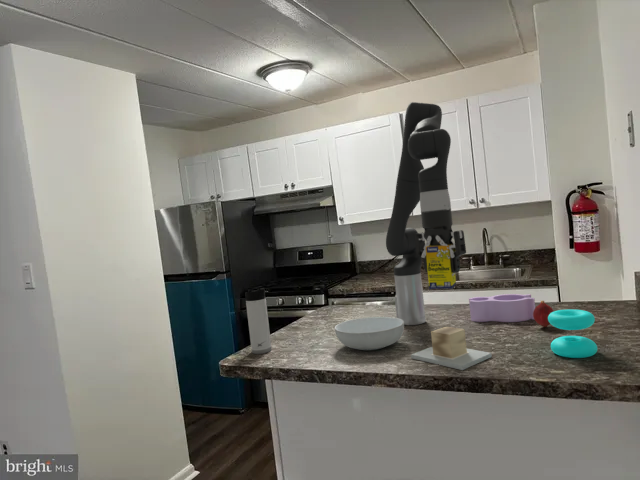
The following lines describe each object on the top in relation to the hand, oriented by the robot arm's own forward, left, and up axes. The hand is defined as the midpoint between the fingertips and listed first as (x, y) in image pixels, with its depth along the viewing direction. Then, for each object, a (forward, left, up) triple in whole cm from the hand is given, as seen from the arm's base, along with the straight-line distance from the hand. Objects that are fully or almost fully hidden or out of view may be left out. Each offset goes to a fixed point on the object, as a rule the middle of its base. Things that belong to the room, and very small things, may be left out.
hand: (442, 272), depth 116 cm
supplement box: (0, 0, -4) cm, 4 cm away
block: (0, 0, -21) cm, 21 cm away
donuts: (+22, +19, -23) cm, 37 cm away
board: (0, 0, -22) cm, 22 cm away
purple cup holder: (-12, +43, -23) cm, 50 cm away
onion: (+5, +38, -23) cm, 44 cm away
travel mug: (-52, -27, -23) cm, 63 cm away
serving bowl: (-26, -4, -23) cm, 35 cm away
